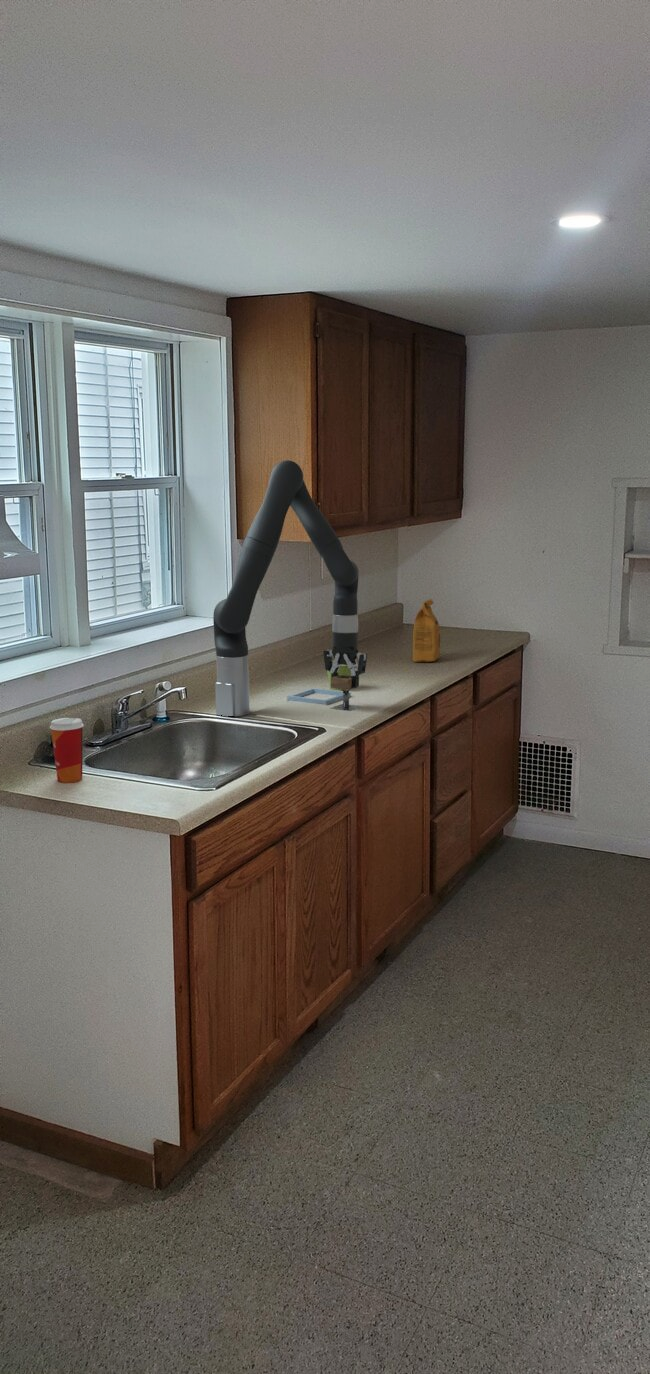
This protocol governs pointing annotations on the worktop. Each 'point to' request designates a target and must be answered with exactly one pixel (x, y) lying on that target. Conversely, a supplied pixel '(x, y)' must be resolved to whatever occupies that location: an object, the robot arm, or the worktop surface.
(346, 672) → the plant pot
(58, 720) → the paper cup
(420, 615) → the coffee package
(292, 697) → the tray
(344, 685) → the brown hollow rectangular frame
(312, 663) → the worktop surface
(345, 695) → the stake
